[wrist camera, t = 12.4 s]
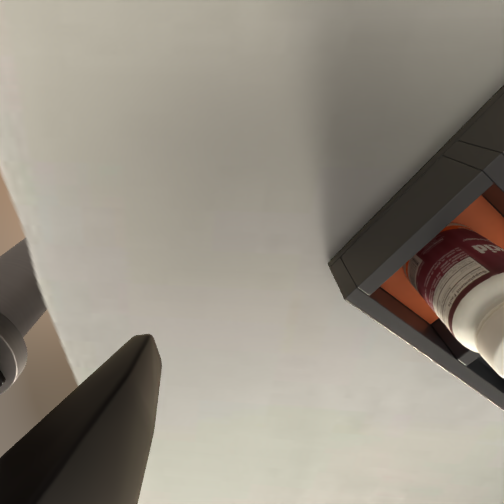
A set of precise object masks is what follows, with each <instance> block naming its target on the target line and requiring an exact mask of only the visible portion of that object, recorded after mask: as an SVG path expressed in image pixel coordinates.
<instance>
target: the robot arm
mask: <svg viewBox="0 0 504 504" xmlns="http://www.w3.org/2000/svg"><path fill="white" fill-rule="evenodd" d="M161 369H162V363H161V358H160V355H159V352H158V349H157V346H156V343H155V340H154V338H153V336H152V335H150V334H144V335H136V336H134V337H132V338H131V339H130V340H129V341H128V342H127V343H125V344H124V345H123V346H122V347H121V348H120V349H119V350H118V351H117V352H116V353H114V354H113V355H112V356H111V357H110V358H109V359H108V360H107V361H106V362H105V363H104V364H102V365H101V366H100V367H99V368H98V369H97V370H96V371H95V372H94V373H93V374H91V375H90V376H89V377H88V378H87V379H86V380H85V381H84V382H83V383H82V384H81V385H79V386H78V387H77V388H76V389H75V390H74V391H73V392H72V393H71V394H70V395H68V396H67V398H65V399H64V400H63V401H62V402H61V403H60V404H59V405H58V406H57V407H55V408H54V409H53V410H52V411H51V412H50V413H49V414H48V415H47V416H45V417H44V418H43V419H42V420H41V421H40V422H39V423H38V424H37V425H36V426H35V427H33V428H32V429H31V430H30V431H29V432H28V433H27V434H26V435H25V436H24V437H23V438H22V439H20V440H19V441H18V442H17V443H16V444H15V445H14V446H13V447H12V448H10V449H9V450H8V451H7V452H6V453H5V454H4V455H3V456H2V457H1V458H0V504H137V503H138V499H139V495H140V490H141V486H142V482H143V477H144V473H145V469H146V464H147V460H148V456H149V451H150V447H151V443H152V438H153V433H154V427H155V420H156V411H157V403H158V395H159V386H160V378H161ZM5 380H6V379H5V377H4V375H3V374H2V372H1V371H0V386H2V385H3V383H4V382H5Z"/></svg>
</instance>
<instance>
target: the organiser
mask: <svg viewBox="0 0 504 504" xmlns="http://www.w3.org/2000/svg"><path fill="white" fill-rule="evenodd" d="M450 223H457V224H462V225H464V226H467V227H469V228H470V229H472V230H473V231H475V232H477V233H478V234H480V235H482V236H483V237H485V238H487V239H488V240H490V241H491V242H492V243H494V244H496V245H497V246H499V247H501V248H502V249H504V86H503V87H502V88H501V89H500V90H499V91H498V92H497V93H496V94H495V95H494V96H493V97H492V98H491V99H490V100H489V101H488V102H487V103H486V104H485V105H484V106H483V107H482V108H481V109H480V110H479V111H478V112H477V113H476V114H475V115H474V116H473V117H472V118H471V119H470V120H469V121H468V122H467V123H466V124H465V125H464V126H463V127H462V128H461V129H460V130H459V131H458V132H457V133H456V134H455V135H454V136H453V137H452V138H451V139H450V140H449V141H448V142H447V144H446V145H445V146H444V147H443V148H442V149H441V150H440V151H439V152H438V153H437V154H436V155H435V156H434V157H433V158H432V159H431V160H430V161H429V162H428V163H427V164H426V165H425V166H424V167H423V168H422V169H421V170H420V171H419V172H418V173H417V174H416V175H415V176H414V177H413V178H412V179H411V180H410V181H409V182H408V183H407V184H406V185H405V186H404V187H403V188H402V189H401V190H400V191H399V192H398V193H397V194H396V195H395V196H394V197H393V198H392V199H391V200H390V201H389V202H388V203H387V204H386V205H385V206H384V207H383V208H382V209H381V210H380V211H379V212H378V213H377V214H376V215H375V216H374V217H373V218H372V219H371V220H370V221H369V222H368V223H367V224H366V225H365V226H364V227H363V228H362V229H361V230H360V231H359V232H358V233H357V234H356V235H355V236H354V237H353V238H352V239H351V240H350V241H349V242H348V243H347V244H346V245H345V246H344V248H343V249H342V250H341V251H340V252H339V253H338V254H337V255H336V256H335V257H334V258H333V259H332V260H331V261H330V262H329V263H328V265H329V267H330V270H331V272H332V274H333V276H334V278H335V280H336V282H337V285H338V287H339V289H340V291H341V293H342V295H343V297H344V299H345V300H346V301H347V302H349V303H350V304H352V305H353V306H355V307H356V308H357V309H359V310H360V311H362V312H363V313H365V314H366V315H368V316H369V317H370V318H372V319H373V320H375V321H376V322H378V323H379V324H380V325H382V326H383V327H385V328H386V329H388V330H389V331H391V332H392V333H393V334H395V335H396V336H398V337H399V338H401V339H402V340H403V341H405V342H406V343H408V344H409V345H411V346H412V347H413V348H415V349H416V350H418V351H419V352H421V353H422V354H424V355H425V356H426V357H428V358H429V359H431V360H432V361H434V362H435V363H436V364H438V365H439V366H441V367H442V368H444V369H445V370H447V371H448V372H449V373H451V374H452V375H454V376H455V377H457V378H458V379H459V380H461V381H462V382H464V383H465V384H467V385H468V386H470V387H471V388H472V389H474V390H475V391H477V392H478V393H480V394H481V395H482V396H484V397H485V398H487V399H488V400H490V401H491V402H493V403H494V404H495V405H497V406H498V407H500V408H501V409H503V410H504V378H502V377H501V376H500V375H498V374H497V373H496V372H495V370H494V369H493V368H492V367H491V366H490V365H489V364H488V363H487V362H486V361H485V360H484V359H483V357H482V356H481V355H480V353H477V352H474V351H472V350H470V349H468V348H466V347H465V346H464V345H462V344H461V343H460V342H459V341H458V340H457V339H456V338H455V337H454V336H453V335H452V333H451V332H450V330H449V329H448V328H447V327H446V325H445V324H444V323H443V322H442V321H441V320H440V319H439V317H438V316H437V315H436V314H435V312H434V311H433V310H432V309H431V307H430V306H429V305H428V304H427V303H426V301H425V300H424V299H423V297H422V296H421V295H420V294H419V293H418V291H417V290H416V289H415V288H414V287H413V285H412V284H411V283H410V282H409V280H408V279H407V277H406V275H405V273H404V269H403V265H404V264H405V263H406V262H408V261H409V260H410V259H411V258H412V257H413V256H414V255H415V254H416V253H418V252H419V251H420V250H421V249H422V248H423V247H424V246H425V245H426V244H427V243H429V242H430V241H431V240H432V239H433V238H434V237H435V236H436V235H437V234H439V233H440V232H441V231H442V230H443V229H444V228H445V227H446V226H447V225H448V224H450Z"/></svg>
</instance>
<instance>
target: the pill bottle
mask: <svg viewBox="0 0 504 504" xmlns="http://www.w3.org/2000/svg"><path fill="white" fill-rule="evenodd" d="M403 269H404V273H405V275H406V277H407V279H408V280H409V282H410V283H411V284H412V285H413V287H414V288H415V289H416V290H417V291H418V293H419V294H420V295H421V296H422V297H423V299H424V300H425V301H426V303H427V304H428V305H429V306H430V307H431V309H432V310H433V311H434V312H435V314H436V315H437V316H438V317H439V319H440V320H441V321H442V322H443V323H444V324H445V325H446V327H447V328H448V329H449V330H450V332H451V333H452V335H453V336H454V337H455V338H456V339H457V340H458V341H459V342H460V343H461V344H462V345H464V346H465V347H466V348H468V349H470V350H472V351H474V352H477V353H480V355H481V356H482V357H483V359H484V360H485V361H486V362H487V363H488V364H489V365H490V366H491V367H492V368H493V369H494V370H495V372H496V373H497V374H498V375H500V376H501V377H502V378H504V249H502V248H501V247H499V246H497V245H496V244H494V243H492V242H491V241H490V240H488V239H487V238H485V237H483V236H482V235H480V234H478V233H477V232H475V231H473V230H472V229H470V228H469V227H467V226H464V225H462V224H457V223H450V224H448V225H447V226H446V227H445V228H444V229H443V230H442V231H441V232H440V233H439V234H437V235H436V236H435V237H434V238H433V239H432V240H431V241H430V242H429V243H427V244H426V245H425V246H424V247H423V248H422V249H421V250H420V251H419V252H418V253H416V254H415V255H414V256H413V257H412V258H411V259H410V260H409V261H408V262H406V263H405V264H404V265H403Z"/></svg>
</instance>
